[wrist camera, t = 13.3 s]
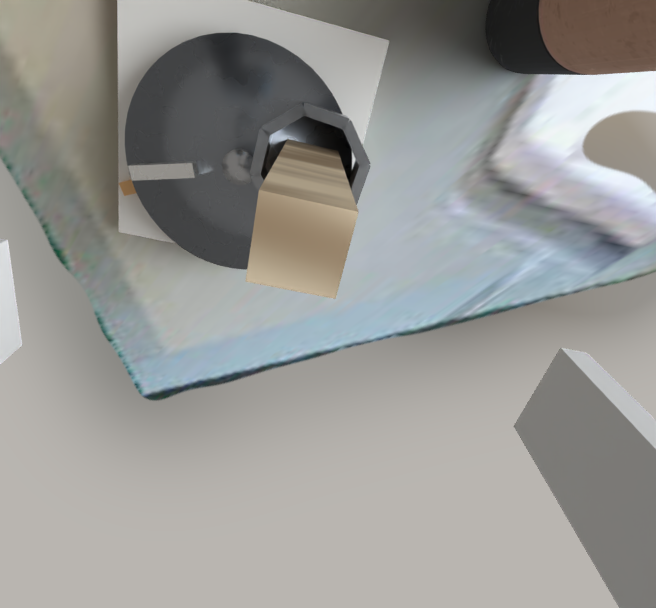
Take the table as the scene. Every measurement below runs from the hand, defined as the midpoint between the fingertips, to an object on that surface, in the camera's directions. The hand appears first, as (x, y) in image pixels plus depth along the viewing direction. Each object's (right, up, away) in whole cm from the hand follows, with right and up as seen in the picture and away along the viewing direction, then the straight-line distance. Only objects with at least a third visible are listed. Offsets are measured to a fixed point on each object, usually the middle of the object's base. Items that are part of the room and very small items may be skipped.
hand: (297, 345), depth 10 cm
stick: (-1, +11, +19) cm, 22 cm away
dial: (-5, +12, +21) cm, 25 cm away
